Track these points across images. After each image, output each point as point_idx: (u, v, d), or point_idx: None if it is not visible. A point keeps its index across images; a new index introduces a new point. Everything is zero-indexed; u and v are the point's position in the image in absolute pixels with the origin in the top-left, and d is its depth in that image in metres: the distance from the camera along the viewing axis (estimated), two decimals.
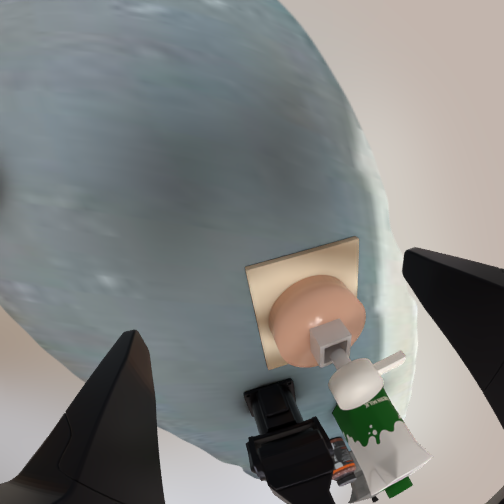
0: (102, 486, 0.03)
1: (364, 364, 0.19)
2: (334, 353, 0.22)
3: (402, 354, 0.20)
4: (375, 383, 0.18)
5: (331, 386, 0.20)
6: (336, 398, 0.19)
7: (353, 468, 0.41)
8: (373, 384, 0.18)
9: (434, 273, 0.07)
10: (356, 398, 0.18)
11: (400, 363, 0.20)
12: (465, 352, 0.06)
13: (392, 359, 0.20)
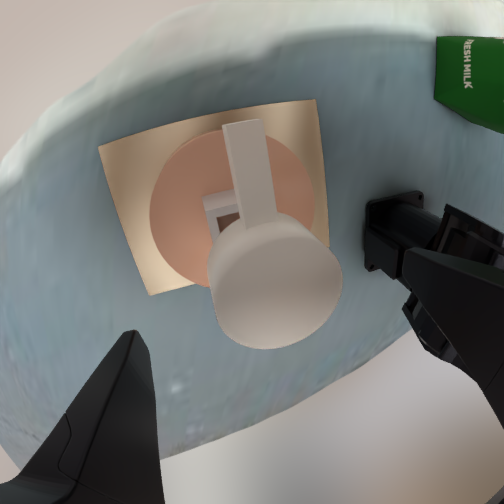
0: (102, 486, 0.03)
1: (209, 272, 0.09)
2: None
3: (225, 131, 0.07)
4: (246, 280, 0.08)
5: None
6: None
7: None
8: (250, 284, 0.08)
9: (434, 273, 0.07)
10: (290, 311, 0.08)
11: (255, 136, 0.07)
12: (465, 352, 0.06)
13: (232, 167, 0.08)
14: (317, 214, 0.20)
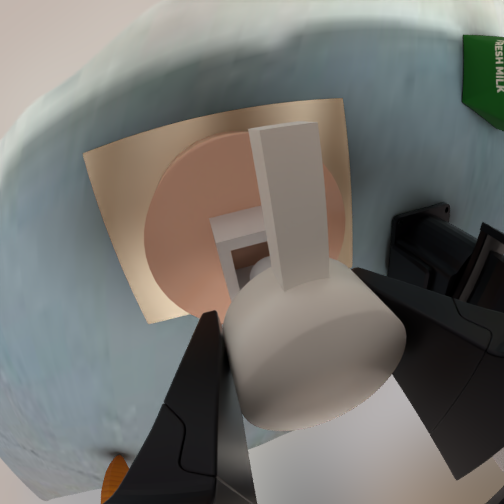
0: (228, 479, 0.03)
1: (227, 342, 0.06)
2: None
3: (255, 139, 0.04)
4: (287, 371, 0.05)
5: None
6: None
7: None
8: (291, 374, 0.05)
9: None
10: (337, 392, 0.06)
11: (305, 149, 0.04)
12: (410, 388, 0.06)
13: (265, 198, 0.05)
14: None
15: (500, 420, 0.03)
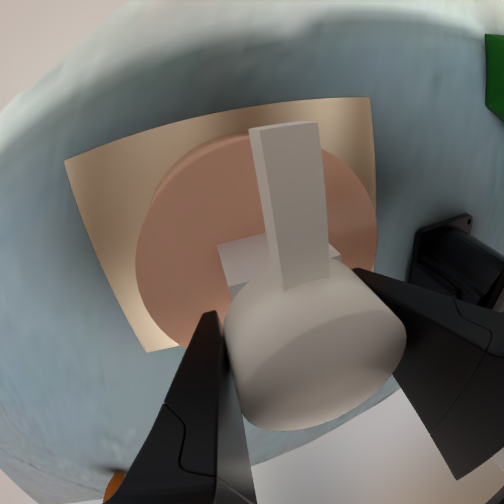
0: (228, 478, 0.03)
1: (228, 342, 0.06)
2: None
3: (255, 139, 0.04)
4: (287, 371, 0.05)
5: None
6: None
7: None
8: (291, 374, 0.05)
9: None
10: (337, 392, 0.06)
11: (305, 149, 0.04)
12: (410, 388, 0.06)
13: (265, 198, 0.05)
14: None
15: (500, 420, 0.03)
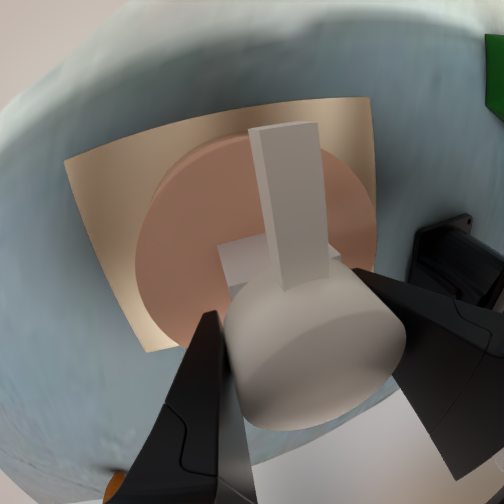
0: (229, 478, 0.03)
1: (227, 343, 0.06)
2: None
3: (255, 139, 0.04)
4: (286, 371, 0.05)
5: None
6: None
7: None
8: (291, 374, 0.05)
9: None
10: (337, 392, 0.06)
11: (305, 149, 0.04)
12: (410, 389, 0.06)
13: (265, 198, 0.05)
14: None
15: (499, 421, 0.03)
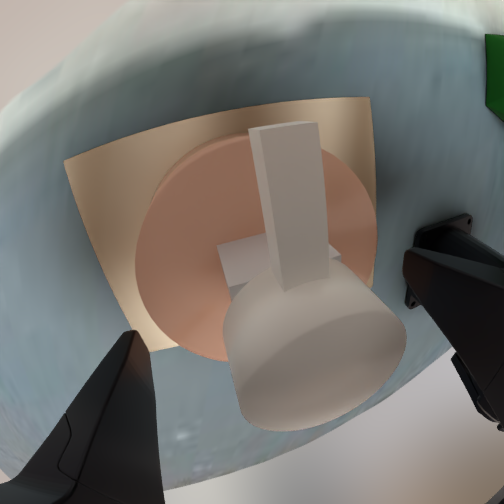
0: (102, 487, 0.03)
1: (228, 343, 0.06)
2: None
3: (255, 139, 0.04)
4: (286, 371, 0.05)
5: None
6: None
7: None
8: (291, 374, 0.05)
9: (434, 273, 0.07)
10: (337, 392, 0.06)
11: (305, 149, 0.04)
12: (465, 352, 0.06)
13: (265, 198, 0.05)
14: None
15: None
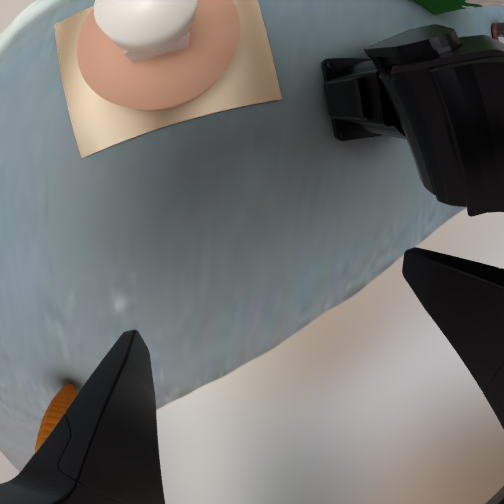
0: (102, 487, 0.03)
1: None
2: None
3: None
4: None
5: (149, 49, 0.09)
6: (152, 40, 0.08)
7: None
8: None
9: (434, 273, 0.07)
10: (151, 3, 0.06)
11: None
12: (465, 352, 0.06)
13: None
14: (261, 62, 0.15)
15: None
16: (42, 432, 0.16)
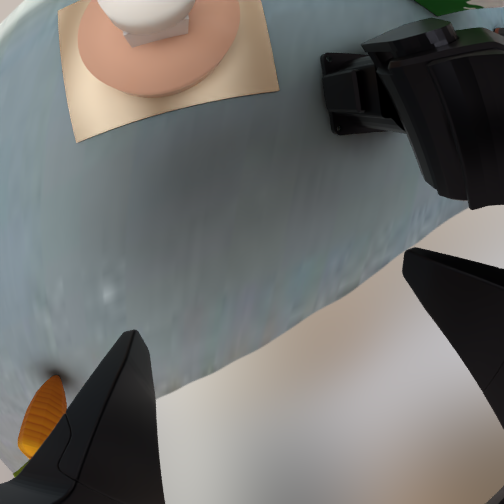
0: (102, 487, 0.03)
1: None
2: None
3: None
4: None
5: (147, 30, 0.08)
6: (151, 21, 0.07)
7: None
8: None
9: (434, 273, 0.07)
10: None
11: None
12: (465, 351, 0.06)
13: None
14: (260, 53, 0.15)
15: None
16: (25, 423, 0.15)
